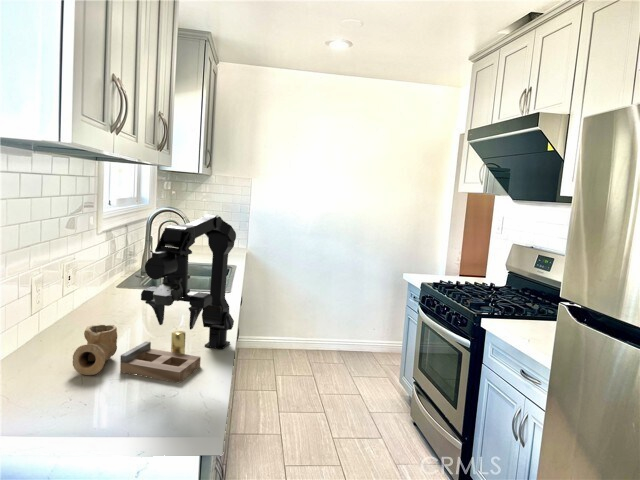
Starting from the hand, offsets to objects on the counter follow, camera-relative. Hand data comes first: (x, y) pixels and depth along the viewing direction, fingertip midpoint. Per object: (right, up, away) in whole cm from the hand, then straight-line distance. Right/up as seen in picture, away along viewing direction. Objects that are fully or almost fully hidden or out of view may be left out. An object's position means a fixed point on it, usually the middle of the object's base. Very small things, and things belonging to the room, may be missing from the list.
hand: (176, 326), depth 131 cm
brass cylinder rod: (-3, -12, +12) cm, 17 cm away
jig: (-5, -13, +4) cm, 14 cm away
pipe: (-24, -12, +4) cm, 27 cm away
